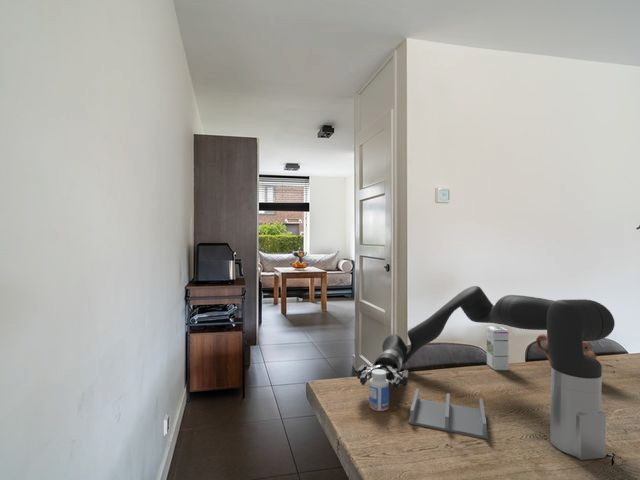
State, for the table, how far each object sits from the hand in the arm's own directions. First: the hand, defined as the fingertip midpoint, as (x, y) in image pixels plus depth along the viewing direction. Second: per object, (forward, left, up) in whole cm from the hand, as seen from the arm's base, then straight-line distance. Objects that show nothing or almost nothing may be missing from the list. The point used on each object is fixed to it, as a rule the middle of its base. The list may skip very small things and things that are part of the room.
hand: (377, 384), depth 96 cm
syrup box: (+26, -54, -7) cm, 60 cm away
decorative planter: (+18, -74, -7) cm, 76 cm away
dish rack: (-6, -17, -7) cm, 19 cm away
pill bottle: (+2, -1, -7) cm, 7 cm away
